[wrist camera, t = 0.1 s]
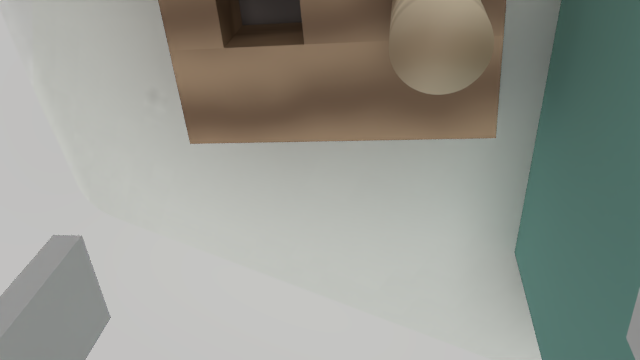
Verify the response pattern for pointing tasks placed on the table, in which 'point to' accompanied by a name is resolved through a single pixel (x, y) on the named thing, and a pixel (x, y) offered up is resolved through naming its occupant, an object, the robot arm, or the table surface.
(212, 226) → the table surface
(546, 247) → the box
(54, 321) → the robot arm
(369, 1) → the seat board
